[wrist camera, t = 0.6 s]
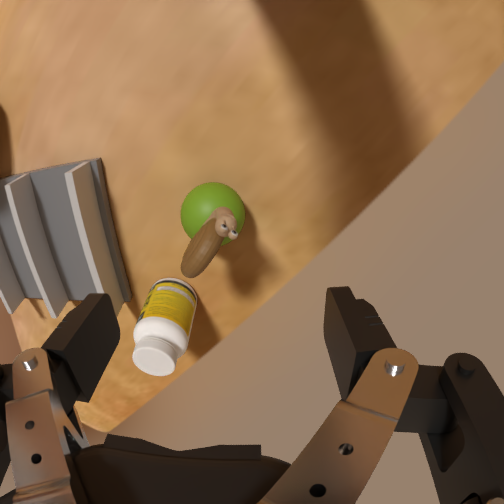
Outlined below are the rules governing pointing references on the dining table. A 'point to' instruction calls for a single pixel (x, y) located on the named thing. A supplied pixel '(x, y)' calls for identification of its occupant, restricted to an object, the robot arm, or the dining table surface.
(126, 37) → the dining table surface
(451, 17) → the dining table surface
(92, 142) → the dining table surface
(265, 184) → the dining table surface
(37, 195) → the gray divided storage rack
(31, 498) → the robot arm
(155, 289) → the supplement bottle
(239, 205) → the snail figurine
